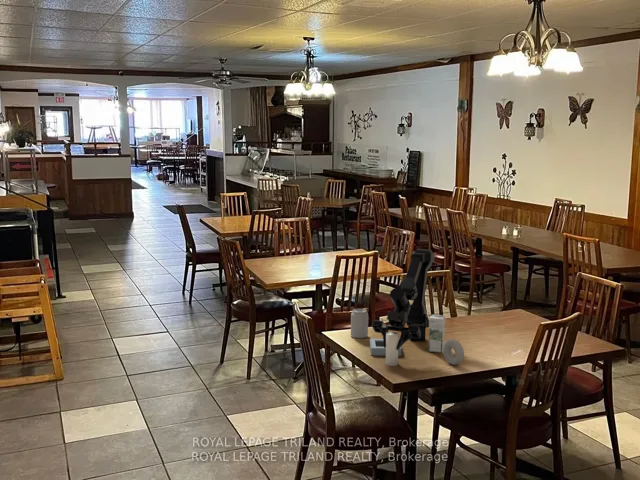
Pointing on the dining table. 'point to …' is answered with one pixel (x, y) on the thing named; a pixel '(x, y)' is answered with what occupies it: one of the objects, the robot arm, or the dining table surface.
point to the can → (359, 323)
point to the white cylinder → (392, 348)
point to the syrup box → (436, 333)
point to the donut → (457, 348)
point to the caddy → (379, 347)
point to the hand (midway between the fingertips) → (390, 348)
